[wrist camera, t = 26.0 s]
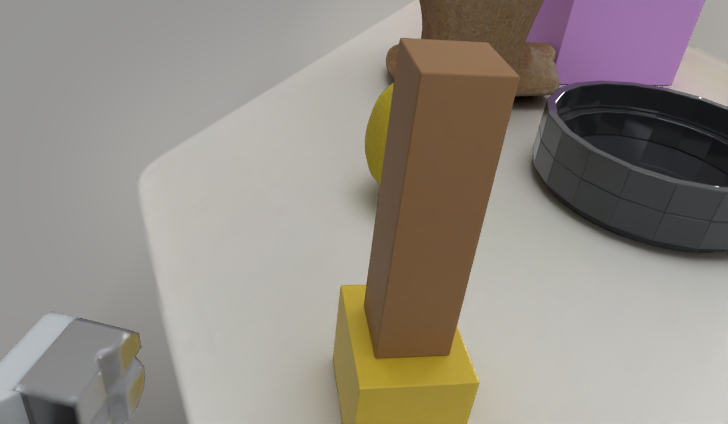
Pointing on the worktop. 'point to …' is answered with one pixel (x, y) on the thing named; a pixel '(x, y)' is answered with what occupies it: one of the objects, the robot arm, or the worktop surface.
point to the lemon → (378, 133)
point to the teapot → (616, 38)
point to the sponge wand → (424, 238)
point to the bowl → (639, 162)
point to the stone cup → (493, 37)
